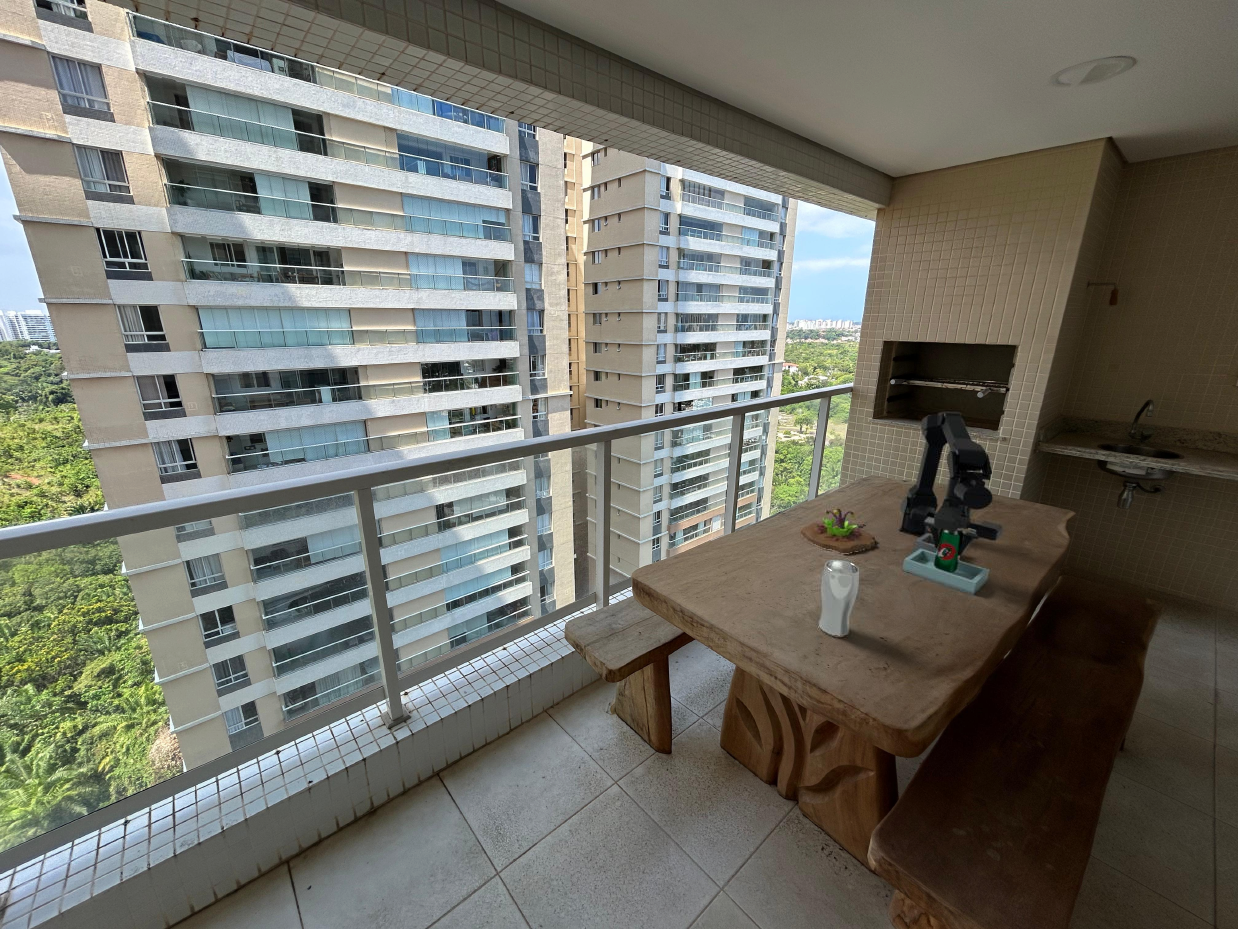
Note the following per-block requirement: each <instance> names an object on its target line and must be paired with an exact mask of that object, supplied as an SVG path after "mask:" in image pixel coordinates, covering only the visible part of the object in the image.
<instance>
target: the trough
mask: <svg viewBox="0 0 1238 929" xmlns="http://www.w3.org/2000/svg"><path fill="white" fill-rule="evenodd" d="M935 556H936V553H933V552H930V551H927V550H924V549H919V550H917V551H916V552H914V553H913V552H912V553H911V554H910V555H909V556H907V557H905V558H904V560H903V565H902V571H903V570H904V571H903V572H907V573H908V572H909V574H911V573H912V575H914V576H917V577H920V578H923V579H925V578H926V580H929V581H932V582H935V583H937V584H940V585H942V584H943V585H942V586H945V585H946V586H945V587H949V588H951V589H954V590H956V591H960V592H962V593H965V594H968V595H971V596H974V595H975V594H976V593H977V592H978V591H979V590H980V589H981V588H982V587H983V586H984V585H985V584H986V582H987V581H988V577H989V573H990V569H988V568H984V567H981V566H978V565H974V564H972V563H969V562H965V561H962V560H959V562H958V567H957V571H955V572H953V573H948V572H945V571H942V570H939V569H936V568H935V566H934V561H935Z"/></svg>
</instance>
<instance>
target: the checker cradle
mask: <svg viewBox="0 0 1238 929" xmlns="http://www.w3.org/2000/svg"><path fill="white" fill-rule="evenodd" d="M914 541H915V542H914V547H913V552H912V554H913V553H914V552H916V551H917V550H919V549H924V550H927V551H930V552H933V553H936V551H937V549H936V548H935V545H933V544H934V540H933V536H932V533H928V532H927V533H925V534H924V535H922V536H919V537H918V538H917V539H916V540H914ZM929 542H930V543H933V544H929Z"/></svg>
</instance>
